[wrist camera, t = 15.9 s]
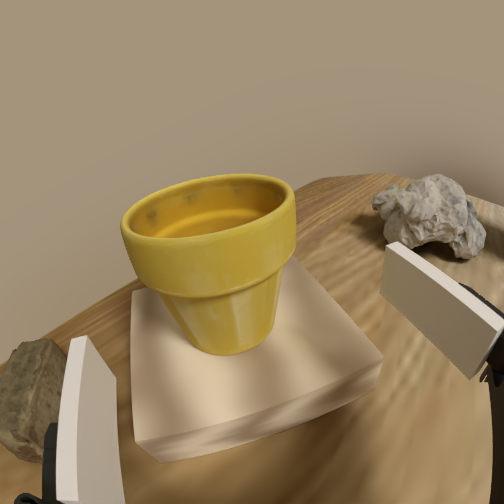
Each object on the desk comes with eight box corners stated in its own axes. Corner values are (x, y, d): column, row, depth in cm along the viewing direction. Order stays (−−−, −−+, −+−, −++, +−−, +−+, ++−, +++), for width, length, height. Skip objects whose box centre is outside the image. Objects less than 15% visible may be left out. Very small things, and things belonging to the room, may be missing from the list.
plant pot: (314, 288, 24) (309, 169, 19) (278, 394, 15) (258, 247, 11) (203, 275, 27) (179, 175, 23) (140, 355, 19) (83, 236, 14)
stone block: (79, 368, 23) (53, 332, 21) (61, 470, 14) (20, 442, 11) (38, 371, 23) (13, 337, 20) (16, 462, 13) (-23, 433, 10)
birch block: (160, 463, 15) (135, 441, 13) (145, 321, 29) (132, 291, 27) (373, 389, 18) (384, 357, 16) (289, 279, 32) (286, 247, 30)
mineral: (397, 195, 43) (381, 146, 37) (493, 221, 30) (495, 166, 24) (362, 253, 41) (339, 206, 35) (468, 295, 28) (472, 245, 22)
